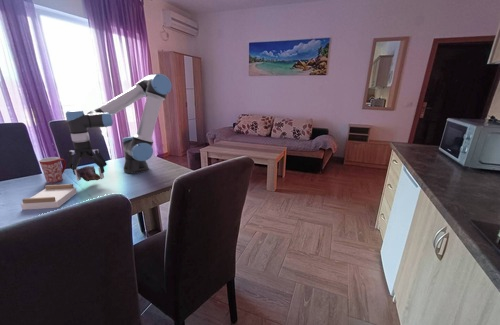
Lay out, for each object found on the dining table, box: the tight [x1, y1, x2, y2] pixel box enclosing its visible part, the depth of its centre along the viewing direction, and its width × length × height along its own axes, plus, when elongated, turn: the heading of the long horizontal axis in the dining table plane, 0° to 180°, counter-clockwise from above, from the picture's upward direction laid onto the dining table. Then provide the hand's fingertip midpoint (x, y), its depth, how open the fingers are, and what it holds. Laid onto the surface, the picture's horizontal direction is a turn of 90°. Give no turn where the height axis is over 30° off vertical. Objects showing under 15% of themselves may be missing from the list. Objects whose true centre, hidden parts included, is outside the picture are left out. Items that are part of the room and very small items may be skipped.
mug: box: [38, 156, 67, 184], centre depth 131 cm, size 13×9×14 cm
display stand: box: [20, 183, 78, 211], centre depth 107 cm, size 14×16×5 cm
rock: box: [77, 165, 102, 182], centre depth 123 cm, size 12×9×10 cm
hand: (91, 179), depth 124 cm, fingers closed on rock, 11 cm apart
